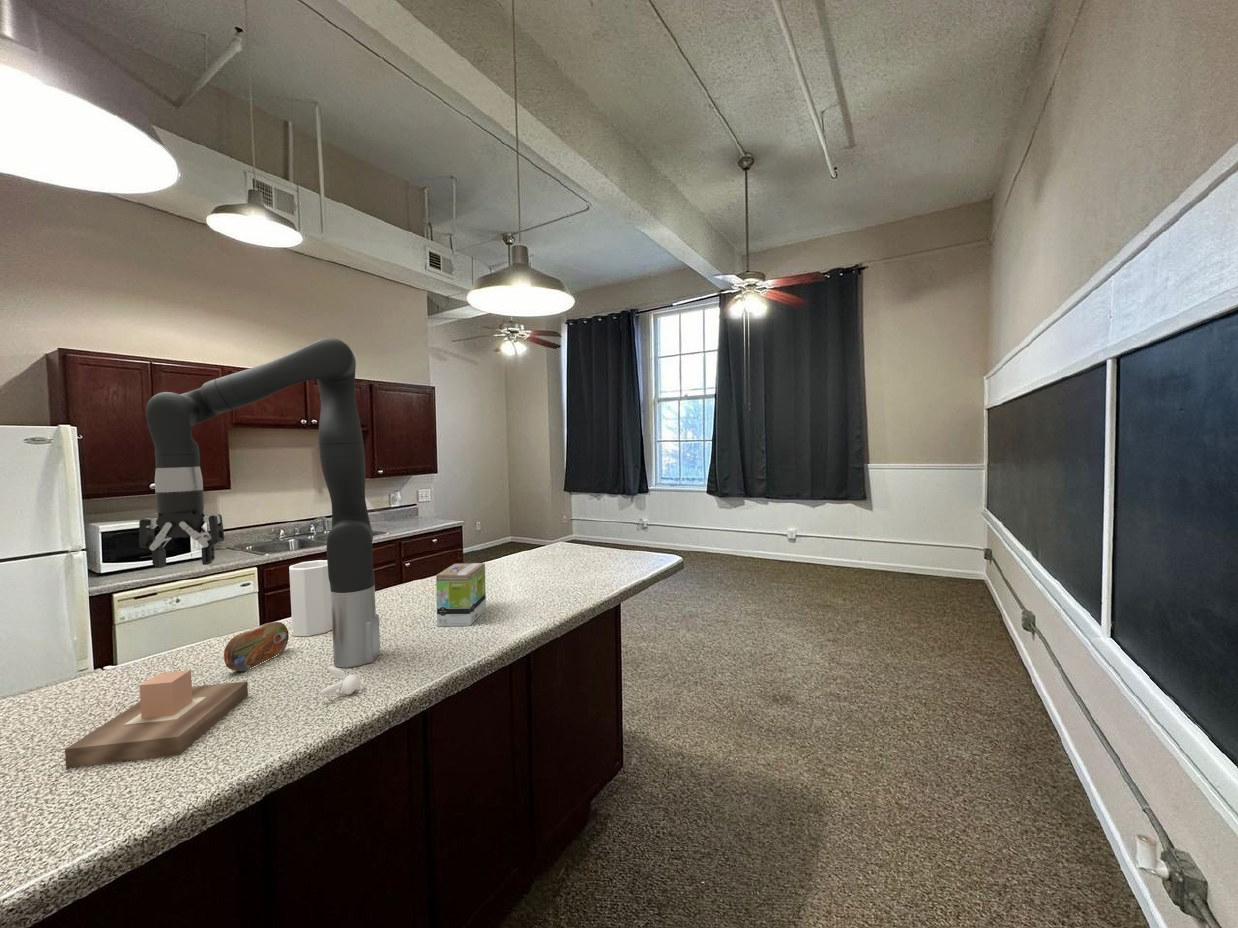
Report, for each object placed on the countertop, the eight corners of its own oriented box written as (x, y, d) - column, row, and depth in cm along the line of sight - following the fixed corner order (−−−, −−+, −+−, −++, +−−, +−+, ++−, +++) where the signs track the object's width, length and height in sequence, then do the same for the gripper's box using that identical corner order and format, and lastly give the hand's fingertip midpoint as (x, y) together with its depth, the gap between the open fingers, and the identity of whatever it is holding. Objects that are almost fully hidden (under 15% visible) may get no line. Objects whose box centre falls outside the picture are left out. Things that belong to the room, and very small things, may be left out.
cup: (345, 626, 142) (342, 561, 141) (303, 640, 132) (300, 570, 132) (325, 620, 148) (322, 558, 147) (283, 632, 138) (280, 566, 138)
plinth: (248, 695, 102) (247, 680, 102) (179, 754, 82) (178, 735, 82) (158, 704, 99) (158, 688, 99) (65, 767, 80) (64, 747, 79)
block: (192, 701, 94) (190, 669, 93) (173, 715, 89) (171, 682, 88) (162, 704, 93) (160, 672, 93) (141, 718, 88) (139, 685, 88)
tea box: (472, 626, 139) (470, 573, 138) (436, 627, 139) (434, 574, 139) (487, 609, 154) (485, 561, 154) (454, 609, 154) (452, 562, 154)
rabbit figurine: (362, 697, 100) (320, 688, 96) (355, 708, 101) (313, 699, 98) (370, 671, 105) (330, 661, 101) (362, 681, 106) (323, 672, 103)
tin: (233, 677, 111) (231, 640, 111) (221, 676, 111) (219, 639, 111) (290, 650, 126) (289, 617, 125) (280, 649, 126) (278, 616, 126)
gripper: (228, 486, 110) (232, 559, 110) (153, 489, 107) (157, 564, 107) (207, 488, 102) (212, 567, 103) (126, 492, 100) (131, 572, 100)
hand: (184, 565), depth 105 cm, fingers open, 8 cm apart
